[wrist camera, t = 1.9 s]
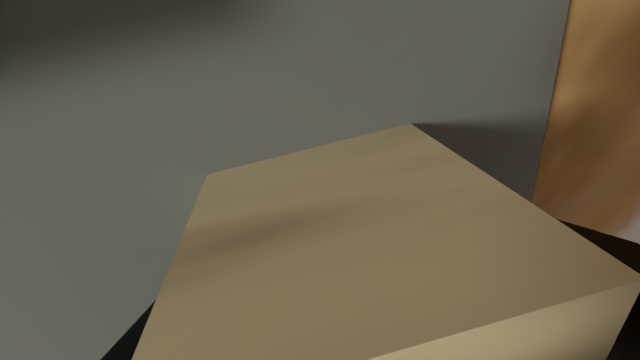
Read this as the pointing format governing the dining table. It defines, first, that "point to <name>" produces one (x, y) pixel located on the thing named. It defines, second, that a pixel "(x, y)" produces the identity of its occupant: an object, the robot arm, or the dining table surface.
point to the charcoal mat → (224, 126)
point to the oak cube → (381, 264)
